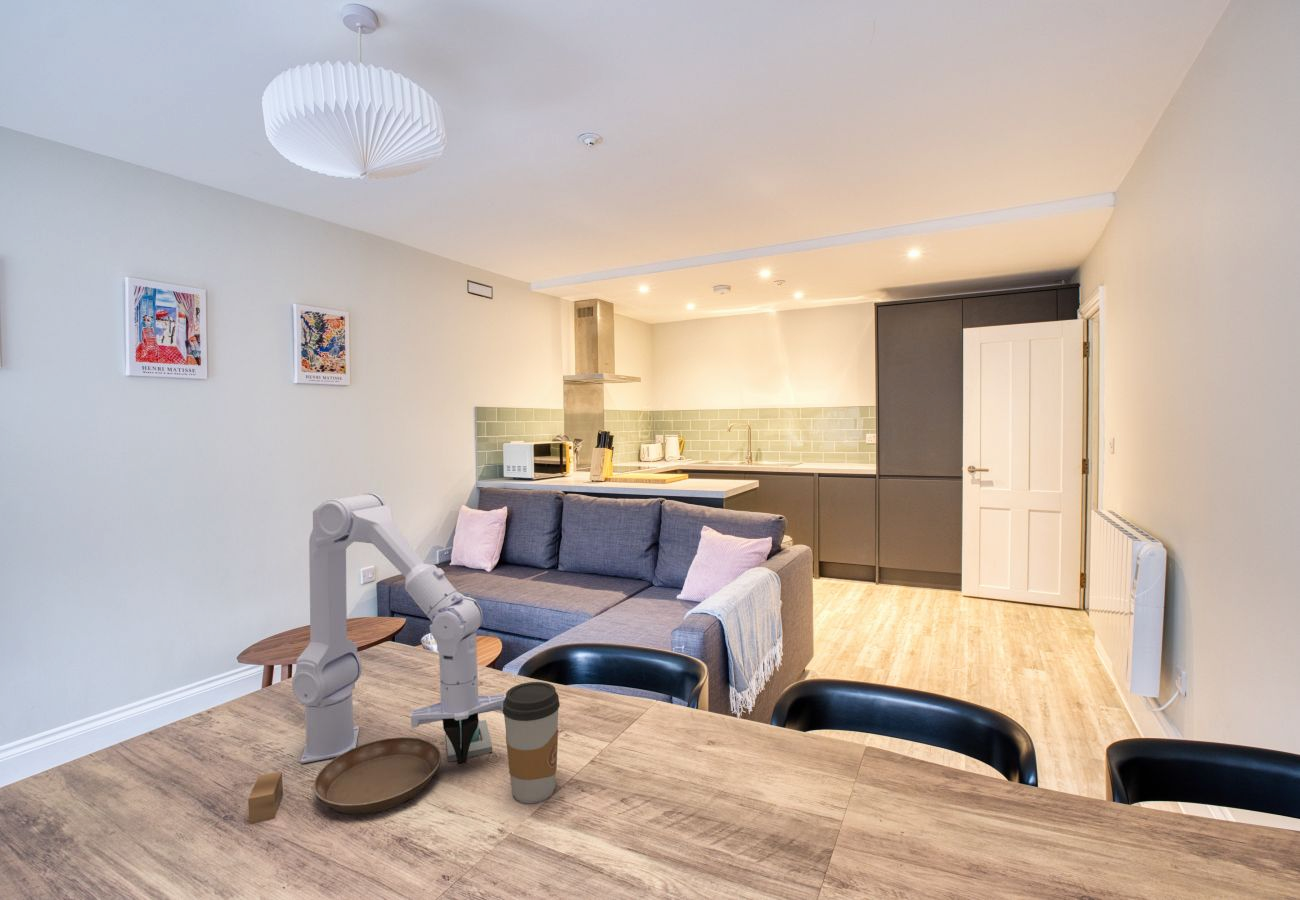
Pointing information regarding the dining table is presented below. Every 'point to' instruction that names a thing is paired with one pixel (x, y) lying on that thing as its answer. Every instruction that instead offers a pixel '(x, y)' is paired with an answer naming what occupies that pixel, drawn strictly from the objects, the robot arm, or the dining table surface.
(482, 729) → the socket block
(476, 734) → the dowel
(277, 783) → the stop block
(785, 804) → the dining table surface
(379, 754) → the plant saucer
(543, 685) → the coffee cup
